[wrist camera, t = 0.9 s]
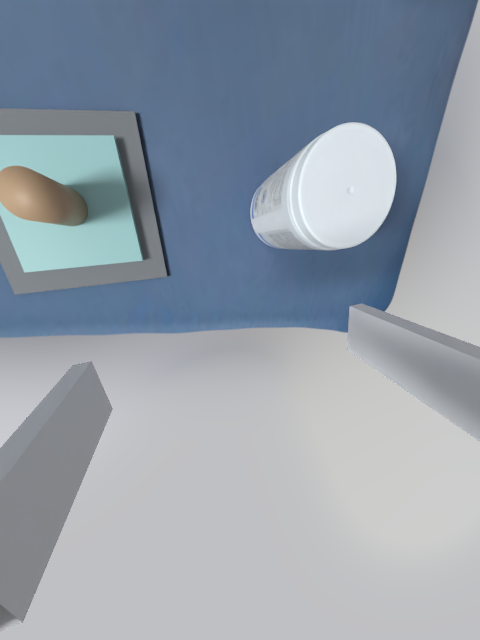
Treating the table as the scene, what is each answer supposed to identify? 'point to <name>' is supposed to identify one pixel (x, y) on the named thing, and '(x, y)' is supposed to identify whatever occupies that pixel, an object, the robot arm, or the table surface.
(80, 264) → the lid
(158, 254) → the mat
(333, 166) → the supplement tub
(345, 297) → the table surface
